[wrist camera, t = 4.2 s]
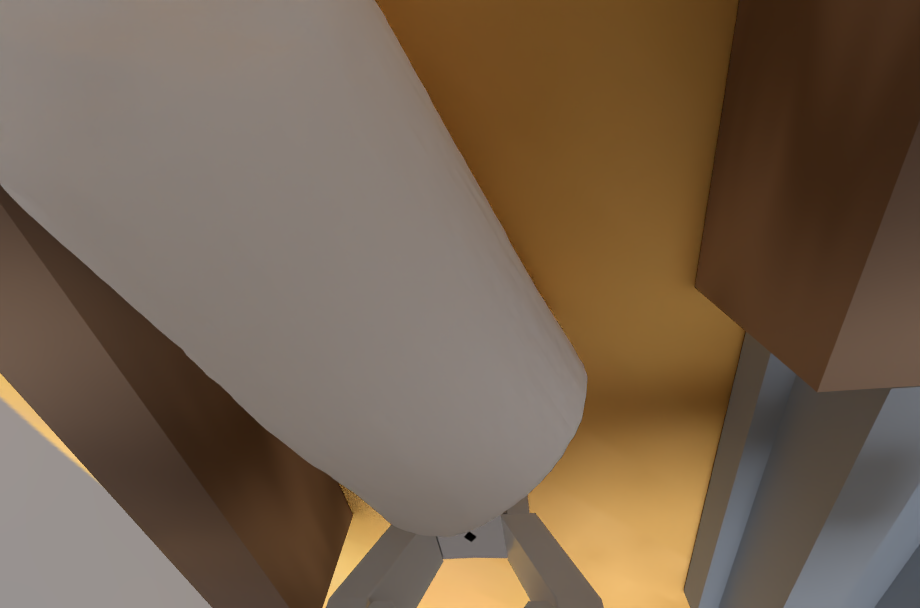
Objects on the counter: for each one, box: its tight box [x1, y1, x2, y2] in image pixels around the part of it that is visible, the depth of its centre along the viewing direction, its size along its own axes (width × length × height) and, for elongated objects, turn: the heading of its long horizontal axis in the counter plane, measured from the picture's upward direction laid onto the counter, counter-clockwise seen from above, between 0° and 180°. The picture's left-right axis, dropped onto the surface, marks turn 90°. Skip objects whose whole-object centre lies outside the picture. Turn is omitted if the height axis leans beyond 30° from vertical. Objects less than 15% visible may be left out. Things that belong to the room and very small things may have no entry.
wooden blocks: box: [0, 0, 920, 608], centre depth 9 cm, size 17×17×4 cm
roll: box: [0, 0, 588, 537], centre depth 6 cm, size 6×12×6 cm, turn 32°
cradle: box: [684, 332, 920, 608], centre depth 11 cm, size 14×8×3 cm, turn 9°
